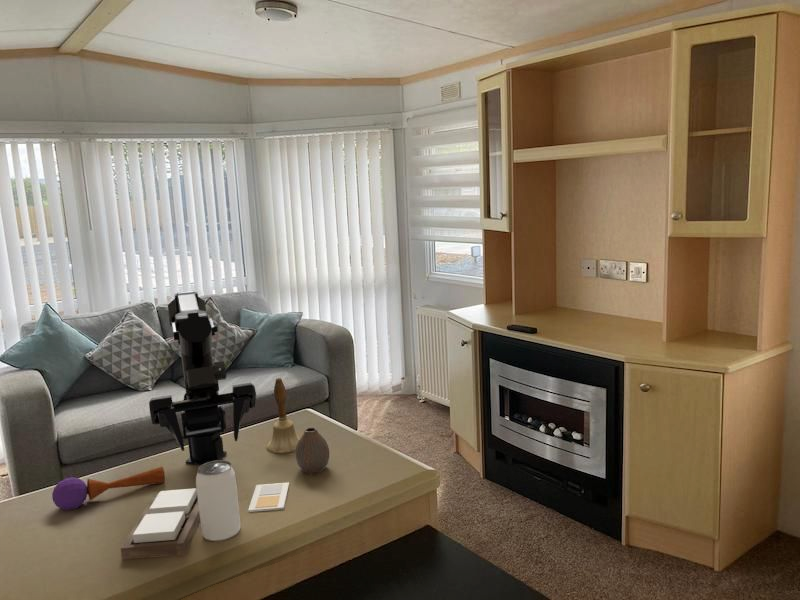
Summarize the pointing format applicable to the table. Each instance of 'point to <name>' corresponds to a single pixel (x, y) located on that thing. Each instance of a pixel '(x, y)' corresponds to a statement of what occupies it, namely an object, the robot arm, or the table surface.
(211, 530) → the can
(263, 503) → the pattern card
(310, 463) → the vase
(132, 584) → the table surface
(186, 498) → the inner pad
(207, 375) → the robot arm
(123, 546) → the button board
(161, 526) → the outer pad
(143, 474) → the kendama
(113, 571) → the table surface
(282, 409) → the hand bell
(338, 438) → the table surface
